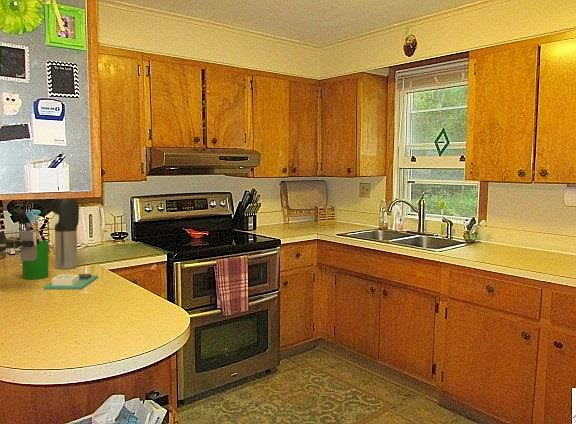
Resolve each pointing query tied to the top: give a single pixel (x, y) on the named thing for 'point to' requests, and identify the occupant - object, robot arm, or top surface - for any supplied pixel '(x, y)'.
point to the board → (71, 281)
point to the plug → (28, 252)
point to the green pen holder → (37, 263)
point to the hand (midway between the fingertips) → (36, 242)
